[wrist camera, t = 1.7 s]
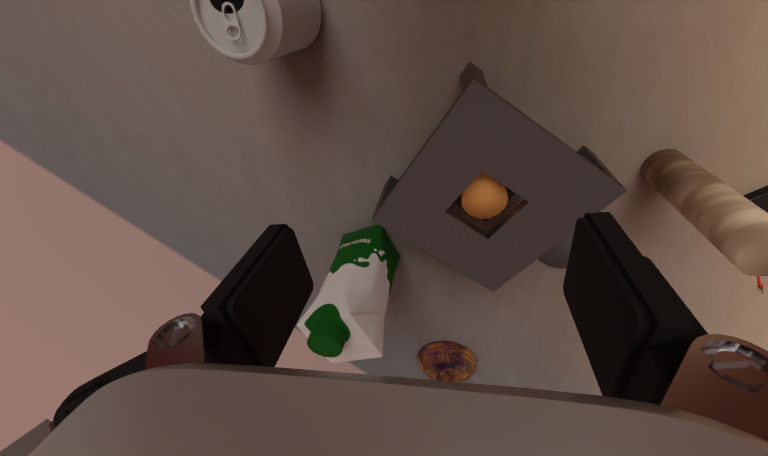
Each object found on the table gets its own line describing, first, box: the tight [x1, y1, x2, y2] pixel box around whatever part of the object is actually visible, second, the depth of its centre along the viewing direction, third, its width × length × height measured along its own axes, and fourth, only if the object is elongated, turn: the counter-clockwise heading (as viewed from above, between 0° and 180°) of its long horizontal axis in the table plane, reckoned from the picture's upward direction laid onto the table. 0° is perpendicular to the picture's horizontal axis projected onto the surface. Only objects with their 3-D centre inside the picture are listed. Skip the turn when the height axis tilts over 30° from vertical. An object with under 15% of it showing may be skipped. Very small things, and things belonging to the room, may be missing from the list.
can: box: [190, 0, 322, 65], centre depth 29 cm, size 8×8×12 cm
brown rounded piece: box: [418, 341, 476, 382], centre depth 63 cm, size 12×12×7 cm
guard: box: [372, 62, 627, 292], centre depth 37 cm, size 18×18×9 cm
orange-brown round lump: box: [461, 171, 508, 219], centre depth 36 cm, size 5×5×4 cm
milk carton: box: [297, 224, 400, 363], centre depth 43 cm, size 9×9×20 cm
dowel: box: [641, 149, 768, 276], centre depth 30 cm, size 4×4×16 cm
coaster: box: [539, 231, 574, 268], centre depth 45 cm, size 8×8×1 cm
